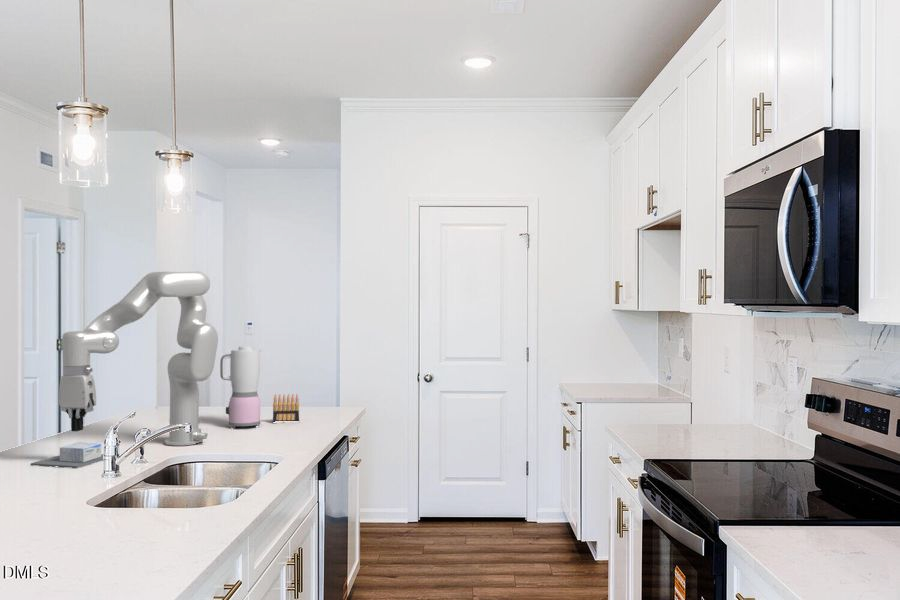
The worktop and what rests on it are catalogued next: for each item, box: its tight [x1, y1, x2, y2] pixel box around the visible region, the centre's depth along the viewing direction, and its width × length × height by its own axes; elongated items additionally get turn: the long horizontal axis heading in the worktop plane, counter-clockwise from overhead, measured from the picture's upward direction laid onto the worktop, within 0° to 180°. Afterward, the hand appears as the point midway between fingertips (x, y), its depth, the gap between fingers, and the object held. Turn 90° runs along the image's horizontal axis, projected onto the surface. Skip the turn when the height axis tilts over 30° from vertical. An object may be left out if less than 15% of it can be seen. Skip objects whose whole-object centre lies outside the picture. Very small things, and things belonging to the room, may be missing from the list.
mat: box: [30, 453, 104, 469], centre depth 215 cm, size 16×16×1 cm
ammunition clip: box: [272, 393, 300, 423], centre depth 289 cm, size 11×2×12 cm, turn 101°
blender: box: [219, 345, 262, 429], centre depth 278 cm, size 16×12×32 cm
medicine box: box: [59, 441, 102, 463], centre depth 215 cm, size 8×4×9 cm
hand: (77, 430), depth 216 cm, fingers closed
